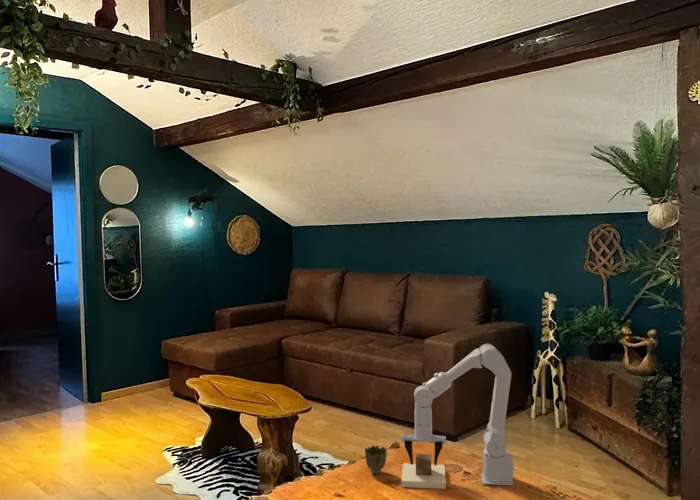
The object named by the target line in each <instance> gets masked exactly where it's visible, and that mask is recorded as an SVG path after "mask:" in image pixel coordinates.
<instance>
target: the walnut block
mask: <svg viewBox="0 0 700 500" xmlns="http://www.w3.org/2000/svg"><path fill="white" fill-rule="evenodd" d="M415 464H416V475H428V476H431V464H432V455H431V454H428V453H427V454H425V453H424V454H423V453H421V454H420V453H416V454H415Z"/></svg>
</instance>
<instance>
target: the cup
mask: <svg viewBox="0 0 700 500" xmlns="http://www.w3.org/2000/svg"><path fill="white" fill-rule="evenodd" d="M364 449H365V450H364V453H365V456H364V457H365V463H366V465H367V467H368V468H369V469H370V473H371V474H373V475H380V474H381V472H382V469H383V468H384V466H385V465H386V460H387V453H388V450H387V448H386V447H384V446H381V448H379V445H376V446H375V445H372V446H368V447H366V448H364Z"/></svg>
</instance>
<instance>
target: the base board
mask: <svg viewBox="0 0 700 500" xmlns="http://www.w3.org/2000/svg"><path fill="white" fill-rule="evenodd" d="M446 484H447V481H446V468H445V464H436V466H434V463H433V464H432V463H431V476H428V475H416V463H413V465H411V463H410V462H409V463H407V462H404V463H402V472H401V485H400V486H401V488H419V489H420V488H423V489H440V490H441V489H443V490H446V489H447V488H446V487H447V485H446Z"/></svg>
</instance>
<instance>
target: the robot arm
mask: <svg viewBox="0 0 700 500" xmlns="http://www.w3.org/2000/svg"><path fill="white" fill-rule="evenodd" d="M482 365H483V366H482ZM483 367H484V368H486V369H488V370H489V371H491V372H492V373H493V375H495V378H494V384H493V391H492V399H491V400H492V401H491V407H490V414H489V420H488V423H487V426H486V430H485V432H483V436H482V441H483V443H484V445H485V447H484V449H483V450H482V452H483V453H482V456H483V457H482V462H483V463H482V465H483V466H482V467H483V468H482V472H481V473H480V476H481V481H482V484H483V485H492V486H493V485H494V486H497V485H498V486H514V461H513V454H511V453H509V452H508V453H507V452H506V451H507V450H508V449H507V443H506V431H505V430H506V429H505V424H506V419H507V410H508V403H509V396H510V388H511V381H512V371H511V369H510V366H508V363H507V361H506V359H505V357H504V356H503V354H501V352H500V351H499V350H498V348H496V347H495V346H494V345H493V344H490V343H484V344H481V345H480V346H479V348H475V349H474V350H472V351H471V352H470V353H469V354H468V355H466V356H465V357H464V358H462V359H461V360H460V361H459V362H458V363H457V364H455V365H454V366H453V367H452V368H450V369H449V370H448V371H446V372H443V371H439V372H436V373H433V377H432V378H431V379H429V380H427V381H426V382H425V381H423V383H422V385H419V386H417V387H416V388H415V389H414V392H413V397H414V410H413V411H414V412H413V413H414V433H410V434H401V435H400V438H401V439H400V443H404V448H405V450H406V452H407V454H408V457H409V461H410V462H409V463H410V464H411V465H413V464H414V457H413V443H427V444H429V443H430V444H434V458H433V459H434V460H433V464H434V466H436V465H438V464H437V463H438V458H439V455H440V453H441V451H442V449H443V445H446V444H447V441H446V440H447V437H446V435H437V434H433V410H432V404H433V401H434V400H433V399H436V398H438V397H439V396H441V395H442V394H443V393H444V392H446V391H447V390H448V389H450V388H451V387H452V384H453V381H454V380H456V379H458V378H459V377H460V376H463V375H464V374H466V373H467V372H469V371H470V370H471V369H483Z"/></svg>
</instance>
